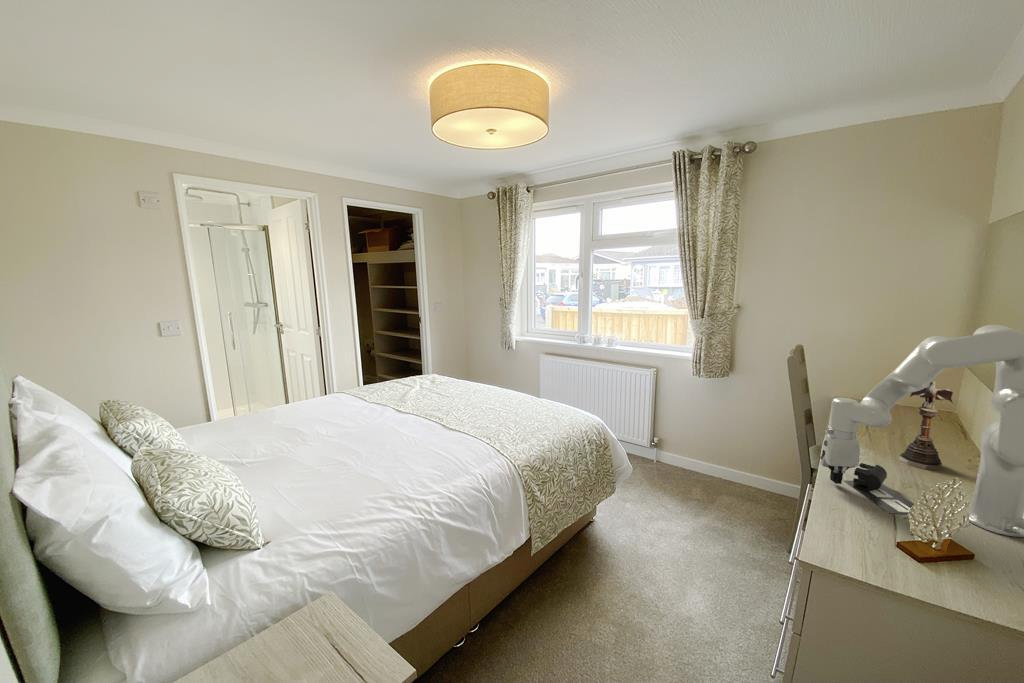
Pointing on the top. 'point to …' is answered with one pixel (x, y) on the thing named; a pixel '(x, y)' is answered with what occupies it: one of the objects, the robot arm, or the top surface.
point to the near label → (897, 505)
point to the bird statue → (926, 431)
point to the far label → (880, 493)
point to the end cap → (869, 477)
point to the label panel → (881, 503)
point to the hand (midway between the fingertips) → (835, 481)
